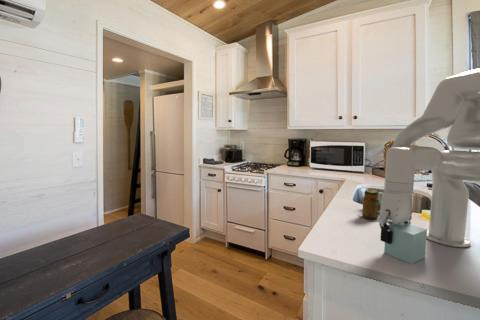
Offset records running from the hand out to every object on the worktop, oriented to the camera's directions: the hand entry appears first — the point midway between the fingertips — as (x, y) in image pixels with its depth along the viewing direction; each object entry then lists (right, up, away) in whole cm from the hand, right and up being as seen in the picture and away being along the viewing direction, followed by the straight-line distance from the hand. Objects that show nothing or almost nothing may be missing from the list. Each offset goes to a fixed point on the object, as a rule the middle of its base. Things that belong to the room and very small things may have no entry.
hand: (394, 238), depth 75 cm
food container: (+18, 0, +39) cm, 43 cm away
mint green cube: (+1, -4, -2) cm, 5 cm away
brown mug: (+9, -1, +30) cm, 31 cm away
